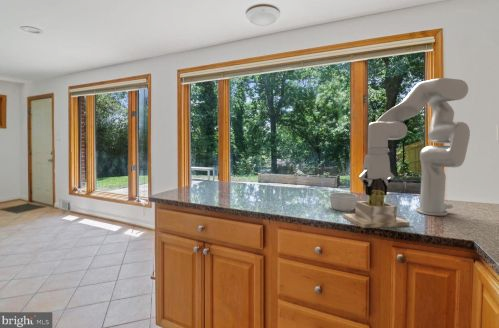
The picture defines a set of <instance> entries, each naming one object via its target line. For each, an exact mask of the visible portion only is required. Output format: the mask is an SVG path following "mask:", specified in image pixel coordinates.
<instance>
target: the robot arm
mask: <svg viewBox="0 0 499 328" xmlns="http://www.w3.org/2000/svg"><path fill="white" fill-rule="evenodd" d="M468 93H469V86H468V84H467V82H466V81H464V80H462V79H457V78H448V77H437V78H434V79H429V80H424V81H420V82H418V83H417V84H415V85H414V87H413V88H411V90H410V92H409V93H408V94H407V95H406V97H404V99H403V100H402V101H401V102H400V103H398V104H396V105H395V106H393V107H391V108H390V109H389V110H387V111H386V112H384V113H383V114H381V116H380V117H378V119H377V120H376V121H373V122H369V124H368V127H367V154H366V155H365V156H364V161H363V165H362V167H363V168H362V173H360V175H359V176H358V179H359V180H360V181H361V182H362V183H363V184H364V186H365V187H364V188H365V195H366V196H368V195H369V196H371V195H372V186H370V185H371V183H372V180H375V179H379V178H381V179H382V182H383V184H384V186H385V196H387V195H388V194H387V193H388V186H389V184H391V182H392V181H393V179H394V178H395V175H394V174H393V172H391V162H390V155H388V153H390V152H391V150H390V149H389V147H388V145H389V143H388V141H389V140H390V141H391V140H392V141H394V140H395V141H396V140H401V139H403V138H404V137H406V136H407V134H408V126H407V125H406V124H405V123H404V121H406V120H409V119H411V118H413V117H416V116H418V115H419V114H420V113H421V112H422V110H423V109H424V107H425V106H426V105H427V104H429V106H430V109H431V120H430V124H429V128H428V134H427V136H428V140H429V141H430V142H431V143H433V144H450V145H427V146H425V147H423V148H422V149H421V150H420V153H419V160H420V166H421V180H420V201H419V203H420V204H419V207H416V209H415V211H416V212H417V213H420V214H423V215H427V216H428V215H429V216H437V217H440V216H443V217H444V216H447V215H448V214H449V213H448V210H449V209H450V210H451V209H453V208H454V206H453V204H452V203H451V204H447V203H445V196H446V193H445V192H446V178H447V177H446V174H445V171H444V168H459V167H461V166H462V165H463V164H464V162H465V159H466V157H467V151H468V145H469V143H470V136H471V130H470V127H469V125H468V123H466V122H463V121H454V117H455V111H454V109H453V107H452V106H451V105H450V104H449V102H453V101H460V100H464V98H465V97H466V96H467V95H468ZM447 209H448V210H447Z"/></svg>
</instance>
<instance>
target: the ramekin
mask: <svg viewBox="0 0 499 328" xmlns="http://www.w3.org/2000/svg"><path fill="white" fill-rule="evenodd" d="M329 198H330V199H329V200H330V201H329V202H330V207H331V208H332V209H333V210H335V211H342V212H350V211H351V212H352V211H354V210H356V201H358V195H357V194H354V193H348V192H332V193H329Z"/></svg>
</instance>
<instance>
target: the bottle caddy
mask: <svg viewBox="0 0 499 328" xmlns="http://www.w3.org/2000/svg"><path fill="white" fill-rule="evenodd" d="M397 208H398V206H397V205H394V204H392V203H391V204H390V203H389V202H385V201H384V206H374V207H372V206H369V205H368V200H362V201H361V200H360V201H358V200H356V207H355V209H354V210H355V211H354V213H344V214H343V218H344V219H345V220H347V221H349V222H351V223H354V224H355V225H357V226H359V227H360V228H362V229H372V228H373V229H374V228H375V229H377V228H389V227H390V228H391V227H392V228H393V227H410V225H411V222H410V221H408V220H406V219H403V218H401V217H398V216H397V211H398V210H397Z"/></svg>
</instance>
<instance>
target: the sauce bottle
mask: <svg viewBox="0 0 499 328" xmlns="http://www.w3.org/2000/svg"><path fill="white" fill-rule="evenodd" d="M370 186H372V195H371V196H369V195H367V201H368V205H369V206H372V207H374V206H384V202H385V196H386V195H385V186H384V184H383V182H382V179H381V178H379V179H375V180H372V183H371V185H370Z"/></svg>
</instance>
